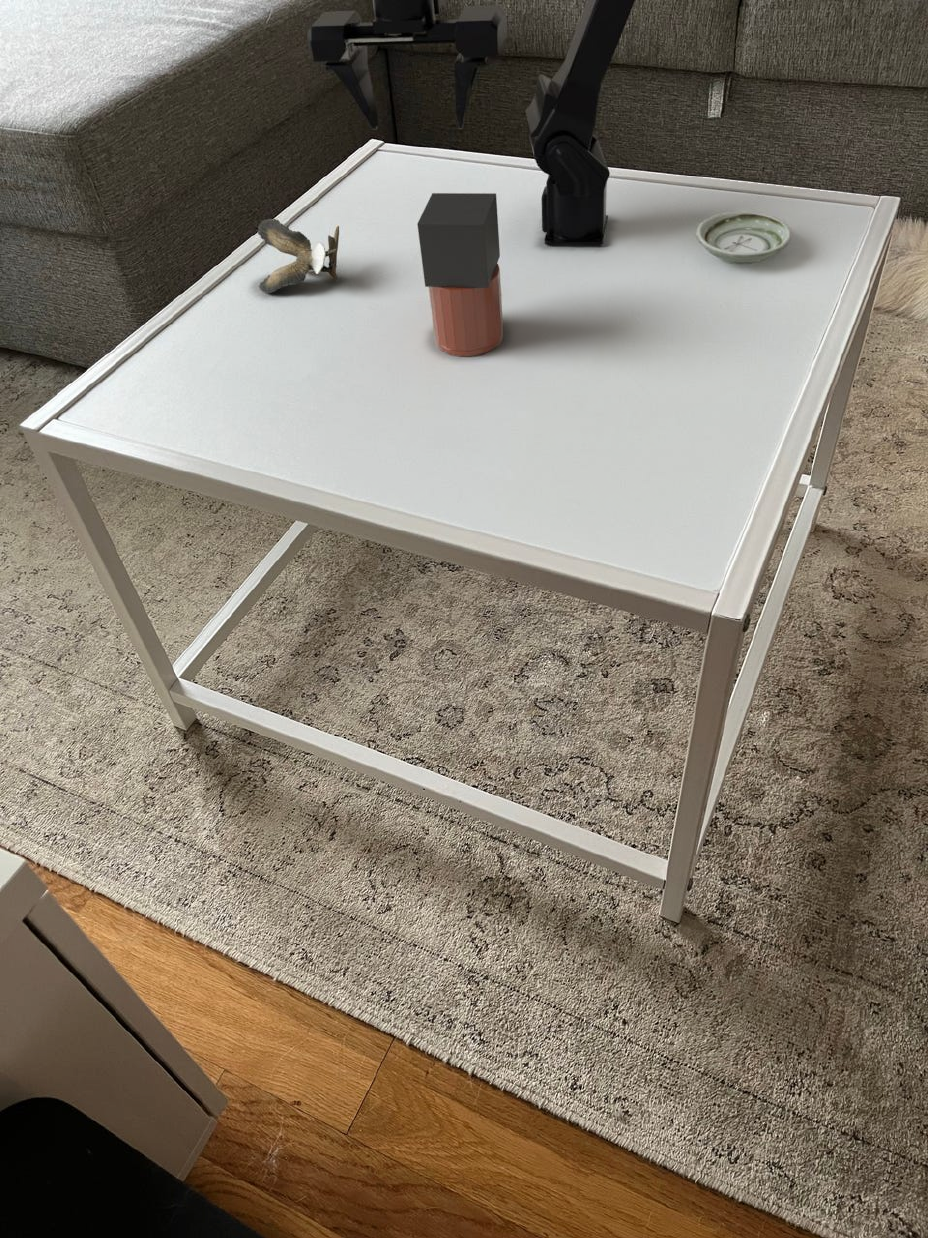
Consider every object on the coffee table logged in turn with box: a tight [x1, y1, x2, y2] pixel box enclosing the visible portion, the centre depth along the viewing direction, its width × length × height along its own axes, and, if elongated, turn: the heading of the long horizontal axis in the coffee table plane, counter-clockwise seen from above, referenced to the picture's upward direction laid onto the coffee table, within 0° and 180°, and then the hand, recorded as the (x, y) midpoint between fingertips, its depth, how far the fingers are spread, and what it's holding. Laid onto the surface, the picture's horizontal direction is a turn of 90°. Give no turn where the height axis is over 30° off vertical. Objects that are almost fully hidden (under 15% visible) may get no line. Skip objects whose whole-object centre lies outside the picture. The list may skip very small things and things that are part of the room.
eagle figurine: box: [257, 218, 340, 294], centre depth 101 cm, size 8×7×9 cm
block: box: [416, 192, 501, 288], centre depth 85 cm, size 6×6×6 cm
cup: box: [428, 263, 504, 357], centre depth 90 cm, size 7×7×7 cm
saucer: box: [695, 210, 792, 265], centre depth 98 cm, size 10×10×2 cm
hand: (418, 127), depth 96 cm, fingers open, 9 cm apart
